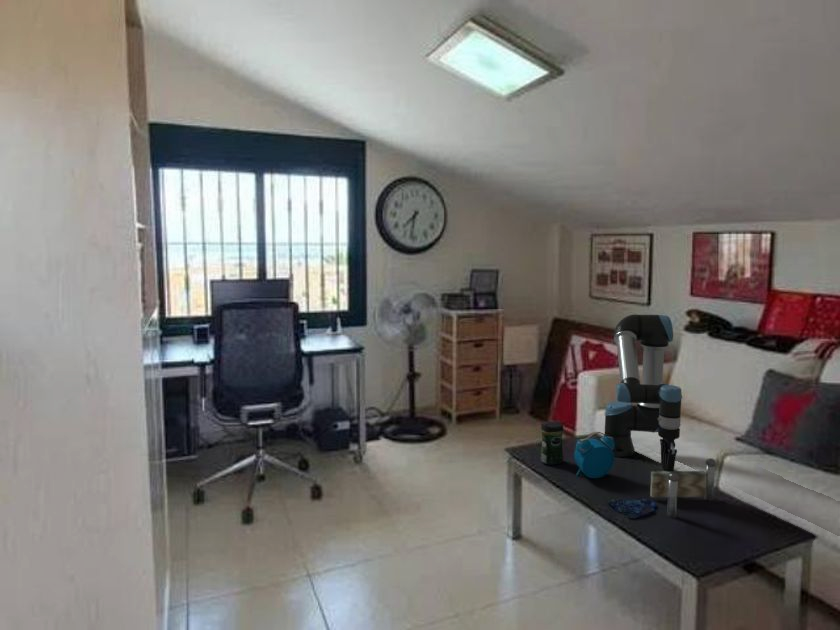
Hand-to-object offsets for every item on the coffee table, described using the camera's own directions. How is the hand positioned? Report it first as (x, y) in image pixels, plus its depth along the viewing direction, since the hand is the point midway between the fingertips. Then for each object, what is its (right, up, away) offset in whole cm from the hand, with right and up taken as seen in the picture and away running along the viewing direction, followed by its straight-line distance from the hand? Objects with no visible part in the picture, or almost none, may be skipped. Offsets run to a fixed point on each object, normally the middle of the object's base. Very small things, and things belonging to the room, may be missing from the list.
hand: (666, 485), depth 222 cm
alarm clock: (-23, -2, +18) cm, 29 cm away
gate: (+2, -3, -5) cm, 6 cm away
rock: (-16, -6, -10) cm, 20 cm away
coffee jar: (-37, 0, +34) cm, 50 cm away
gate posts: (+4, -5, -11) cm, 12 cm away
